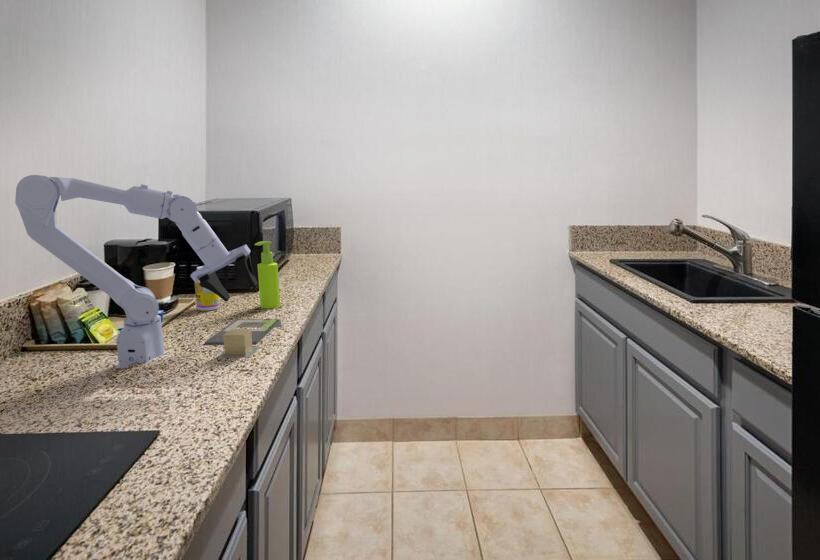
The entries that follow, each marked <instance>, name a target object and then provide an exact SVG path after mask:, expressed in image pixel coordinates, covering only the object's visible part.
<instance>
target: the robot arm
mask: <svg viewBox="0 0 820 560" xmlns="http://www.w3.org/2000/svg"><path fill="white" fill-rule="evenodd" d="M78 198H81V199H86V200H93V201H99V202H104V203H108V204H109V203H110V204H116V205H120V206H121V205H122V206H124V207H125V209H126V210H127V211H128V213H129V214H135V215H137V216H138V215H139V216H145V217H150V218H155V219H160V220H163V219H165V218H167V219H168V220H170V221H171V222H173V223H175V225H176V226H177V227H178V229H179V230H180V231H181V234H182V237H183V238H184V239H185V240H186V242H187V243H188V244H189V245H190V247H191V248H192V250H193V251H194V252H195V253H196V255H197V256H198V257H199V259H200V260H201V261H202V263H203V265H202V266H203V267H201V268H200V269H198V270H197V269H196V270H195V271H193V272H192V273H191V274H190V278H191V279H192V280H193V281H195V282H197V281H199V280H200V284H199V285H200V286H201V287H203V288H206V289H208V290H210V291H212V292H214V293H215V294H217V295H218V296H219V298H221V299H222V300H223V301H224V302H225V303H226V302H229V300H230V298H231V295H230V294H229V292H228V291H227V289H226V288H225V287H224V286H223V284H222V283H221V281H220V279H219V277H218V276H217V273H216V272H217V271H218V270H221V269H222V268H224V267H226V266H227V265H230V264H232V263H234V262H235V261H236V262H235V263H234V267H235V268H236V269H237V270H238V271H239V272H240V273H241V274H242V275H243V276H244V277H245V278H246V280H247V281H248V282H249V284H250V286H251V287H252V288H256V287H257V286H258V285H259V281H258V280H257V278H256V277H257V276H256V275H255V272H254V269H253V265H252V259H251V254H250V253H251V249H250V248H249V246H248V245H247V244H244V245H242V246H239V247H237V248H235V249H232V250H230V251H228V250H227V248H226V247H225V245H224V244H223V243H222V242H221V240H220V238H219V237H218V235H217V234H216V233H215V231H214V230H213V229H212V228H211V226H210V224H209V223H208V222H207V220H205V219H204V217H203V216H202V214H201V213H200V212H199V211H198V207H197V204H196V203H195V201H193V200H192V199H191V198H189V197H187V196H184V195H180V194H178V193H177V194H173V191H172V190H167V191H161V190H156V189H151V188H149V186H148V185H147V184H140V185H139V186H138V185H134V186H131V187H130V188H128V189H126V190H124V189H121V188H117V187H112V186H107V185H104V184H99V183H95V182H91V181H87V180H82V179H77V178H71V177H60V176H58V177H57V176H49V177H48V176H46V175H40V174H30V175H27V176H24V177H22V178H21V179H19V182H17V184H16V189H15V199H14V201H15V205H16V207H17V209H18V212H19V214H20V217H21V220H22V222H23V223H22V224H23V225H24V229H25V231H26V234H27V235H28V237H29V238H30V239H31V240H33V241H34V242H35V243H37V244H38V245H40V246H41V247H42V248H44V249H45V250H46V251H48V252H49V253H51V254H52V255H54V256H55V257H56V258H57V259H58V260H60V261H61V262H63V263H64V264H65V265H66V266H68V267H70V268H71V269H72V270H74V271H76V273H77V274H79V275H80V276H81V277H83V278H84V279H86V280H88V281H89V282H90V283H91V284H93V285H94V286H95V287H96V288H98V289H99V290H100V291H102V292H104V294H106V295H108V297H109V298H111V299H112V300H113V301H114V303H115V304H117V306H119V307H121V308H122V309H123V311H124V312H125V313H124V314H125V315H126V316H125V318H123V328H122V330H120V332H119V333H118V335H117V337H116V349H117V354H118V355H117V356H118V364H117V365H116V366H115V369H117V370H118V369H119V370H120V369H125V368H126V367H128V366H130V365H132V364H134V363H135V364H139V363H140V364H147V363H149V362H150V361H152V360H153V359H155V358H158V357H160V356H162V355H164V353H165V345H164V344H165V343H164V336H163V325H162V317H161V315H159V314H158V313H159V309H160V306H159V302H158V301H157V299H156V296H155V293H154V292H153V291H152V290H151V289H149V288H148V287H145V286H141V285H137V284H135V283H134V282H133V281H131V280H130V279H128V278H126V277H125V276H123V275H122V274H121V273H119V272H118V271H117V270H115V269H114V268H113V267H112V266H110V265H109V264H107V262H105V261H103V260H102V259H100V257H98V256H97V255H96V254H94V253H93V252H92V251H91V250H90V249H88V248H87V247H85V246H84V245H83V244H82V243H80V242H79V241H78V240H76V239H75V238H73V236H71V235H69V233H67V232H66V231H64V230H63V229H62V228H60V227H59V226H58V224H57V223H58V221H57V206H58V203H59V200H61V202H64V201H70V200H73V199H78ZM195 282H194V283H195Z"/></svg>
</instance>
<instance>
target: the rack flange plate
mask: <svg viewBox="0 0 820 560" xmlns="http://www.w3.org/2000/svg"><path fill="white" fill-rule="evenodd" d="M281 327H282V319H281V318H279V319H278V318H276V319H275V318H273V319H272V318H270V319H269V318H267V319H264V318H263V319H262V318H260V319H258V318H257V319H253V318H252V319H251V318H249V319H248V318H247V319H246V318H245V319H244V318H243V319H242V318H241V319H234V320H233V321H232V322H230V323H229V324H227V325H226V326H225V327H223V328H222V329H221V330H220V331H218V332H217V333H215V334H213V336H210V338H208V339H207V340H206V341H204V345H224V338H223V335H224V334H225V333H227V332H228V331H229V330H231V329H251V333H252V345H258V344H259V342H261V341H262V340H263V339H264V338H265V337H266V336H267V335H268V334H269V333H270V332H271V331H272V330H273V329H274V328H281Z"/></svg>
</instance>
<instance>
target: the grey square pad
mask: <svg viewBox="0 0 820 560" xmlns="http://www.w3.org/2000/svg"><path fill="white" fill-rule="evenodd" d="M252 347H253V349H252V350H251V351H250V352H249V353H248V354H247V355H239V356H225V350H223V352H222V353H220V354H219V355H218V356H217V357H216V358H217V359H219V358H220V359H222V358H223V359H225V358H226V359H227V358H228V359H229V358H230V359H231V358H237V359H240V358H243V359H244V358H245V359H247V358H251V357H252V356H253V355H254V354H255V353H256V352H257V351H258V350H259V349H260V348H261V347H260V346H257V347H256V346H252Z"/></svg>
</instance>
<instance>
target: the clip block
mask: <svg viewBox="0 0 820 560" xmlns="http://www.w3.org/2000/svg"><path fill="white" fill-rule="evenodd" d="M251 329H252V328H237V329H231V330H229V331H228V332H227V333H225V334H224V335H223V338H224V344H223V349H224V350H223V351H225V356H239V355H247V354H248V353H249V352H250V351H251V350H252V349H253V347H254V346H253V344H252V333H251Z"/></svg>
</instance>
